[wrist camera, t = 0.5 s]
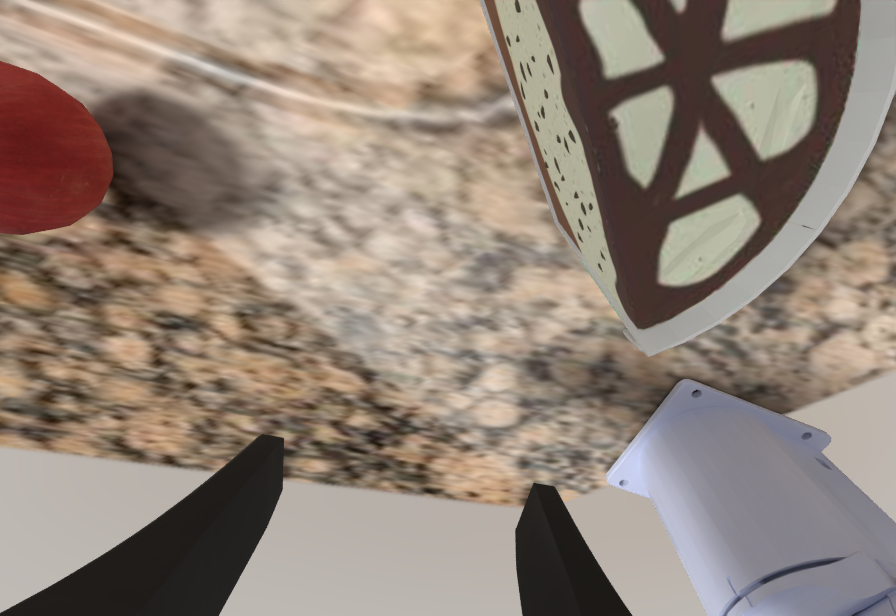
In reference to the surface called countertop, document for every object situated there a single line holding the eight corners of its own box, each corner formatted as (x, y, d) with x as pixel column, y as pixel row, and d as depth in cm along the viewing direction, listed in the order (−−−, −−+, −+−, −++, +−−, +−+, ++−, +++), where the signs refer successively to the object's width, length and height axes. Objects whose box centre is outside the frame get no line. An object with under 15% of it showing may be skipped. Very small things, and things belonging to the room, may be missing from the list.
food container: (701, 199, 18) (941, 283, 9) (565, 253, 19) (653, 374, 10) (634, -154, 13) (986, -718, 4) (460, -53, 15) (452, -329, 6)
